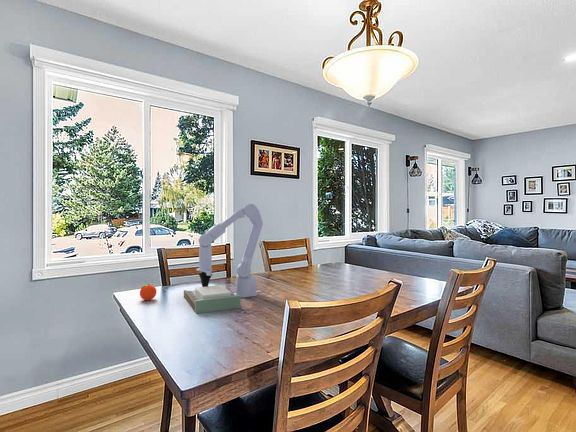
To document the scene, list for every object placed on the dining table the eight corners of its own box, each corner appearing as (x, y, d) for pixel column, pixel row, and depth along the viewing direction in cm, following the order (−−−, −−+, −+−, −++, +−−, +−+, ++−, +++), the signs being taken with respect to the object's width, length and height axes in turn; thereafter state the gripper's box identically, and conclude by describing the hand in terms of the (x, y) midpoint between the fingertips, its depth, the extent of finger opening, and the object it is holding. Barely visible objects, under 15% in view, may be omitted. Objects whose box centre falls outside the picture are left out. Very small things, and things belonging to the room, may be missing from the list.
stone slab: (221, 291, 152) (221, 285, 151) (231, 299, 139) (231, 292, 139) (195, 294, 146) (195, 287, 146) (202, 302, 134) (202, 295, 134)
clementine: (136, 303, 142) (136, 286, 142) (137, 298, 149) (137, 283, 149) (156, 301, 145) (156, 285, 145) (156, 297, 152) (156, 282, 152)
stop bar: (238, 306, 140) (238, 294, 140) (240, 307, 138) (240, 295, 138) (194, 312, 132) (195, 299, 131) (195, 313, 130) (196, 301, 130)
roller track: (222, 292, 162) (222, 286, 162) (238, 306, 140) (238, 299, 140) (183, 296, 153) (183, 290, 153) (194, 311, 132) (194, 304, 132)
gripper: (193, 257, 159) (193, 285, 159) (200, 262, 146) (200, 292, 147) (208, 256, 162) (207, 284, 163) (215, 261, 150) (215, 290, 150)
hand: (205, 287), depth 155 cm, fingers closed
